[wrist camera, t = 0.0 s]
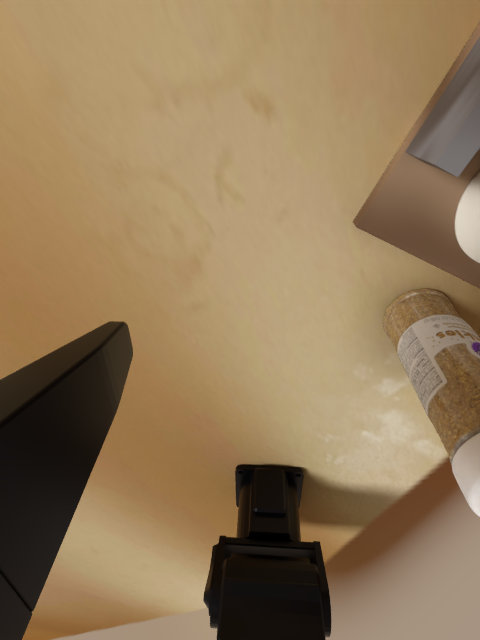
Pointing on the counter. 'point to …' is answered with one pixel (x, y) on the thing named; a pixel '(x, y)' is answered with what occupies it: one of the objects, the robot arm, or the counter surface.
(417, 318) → the sprinkles bottle
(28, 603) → the robot arm
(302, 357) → the counter surface
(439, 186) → the corner arena
